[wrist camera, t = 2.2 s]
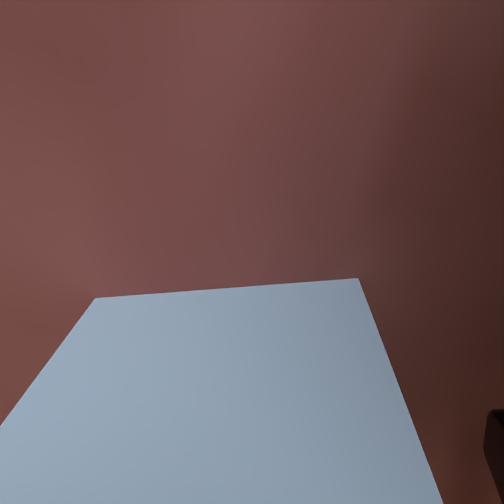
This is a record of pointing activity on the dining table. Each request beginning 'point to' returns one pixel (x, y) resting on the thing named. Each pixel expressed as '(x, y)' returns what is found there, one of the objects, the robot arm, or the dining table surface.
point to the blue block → (218, 405)
